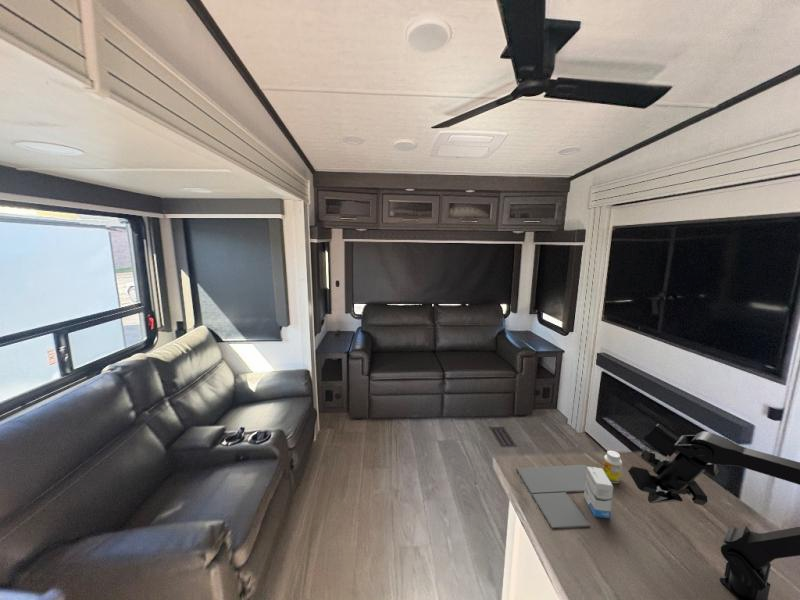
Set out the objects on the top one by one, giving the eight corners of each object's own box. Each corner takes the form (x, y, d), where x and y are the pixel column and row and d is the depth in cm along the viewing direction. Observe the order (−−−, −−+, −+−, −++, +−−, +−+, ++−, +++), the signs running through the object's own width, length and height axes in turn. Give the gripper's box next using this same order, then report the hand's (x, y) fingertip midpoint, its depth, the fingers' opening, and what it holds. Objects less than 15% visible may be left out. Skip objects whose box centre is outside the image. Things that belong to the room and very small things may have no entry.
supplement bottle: (600, 471, 117) (602, 447, 116) (617, 475, 116) (620, 450, 114) (604, 482, 112) (606, 456, 111) (622, 485, 110) (625, 460, 109)
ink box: (610, 519, 97) (614, 486, 95) (593, 516, 98) (596, 484, 96) (599, 498, 105) (602, 467, 103) (583, 495, 106) (586, 465, 104)
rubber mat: (639, 524, 95) (640, 522, 95) (551, 528, 94) (552, 527, 94) (585, 466, 121) (586, 464, 121) (516, 469, 119) (516, 467, 119)
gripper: (694, 451, 90) (662, 482, 97) (632, 436, 90) (605, 468, 97) (725, 488, 80) (688, 520, 87) (657, 472, 80) (624, 505, 87)
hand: (649, 501), depth 90 cm, fingers closed
